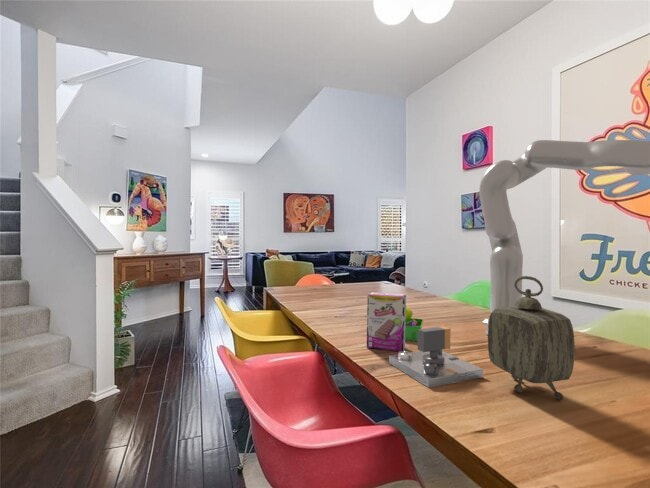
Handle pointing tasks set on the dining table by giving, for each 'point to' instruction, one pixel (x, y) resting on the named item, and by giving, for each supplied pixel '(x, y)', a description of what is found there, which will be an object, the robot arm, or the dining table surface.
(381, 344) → the candy bar box
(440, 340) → the knob
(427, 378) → the levelling base
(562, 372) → the tabletop clock
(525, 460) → the dining table surface
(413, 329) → the fruit basket
